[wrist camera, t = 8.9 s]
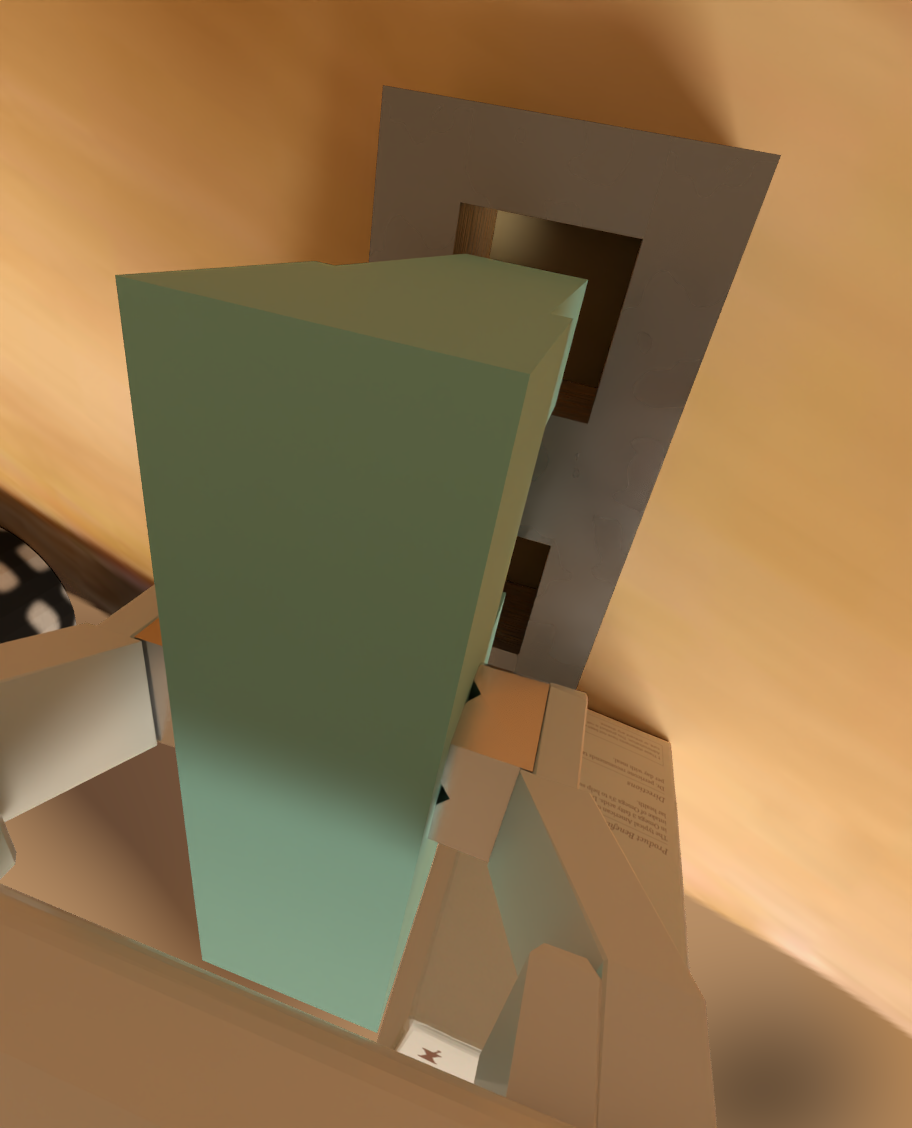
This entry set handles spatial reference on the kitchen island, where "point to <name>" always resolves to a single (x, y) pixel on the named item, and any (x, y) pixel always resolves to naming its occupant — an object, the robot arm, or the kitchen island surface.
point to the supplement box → (473, 921)
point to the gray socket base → (641, 338)
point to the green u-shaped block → (330, 576)
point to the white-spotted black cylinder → (29, 593)
